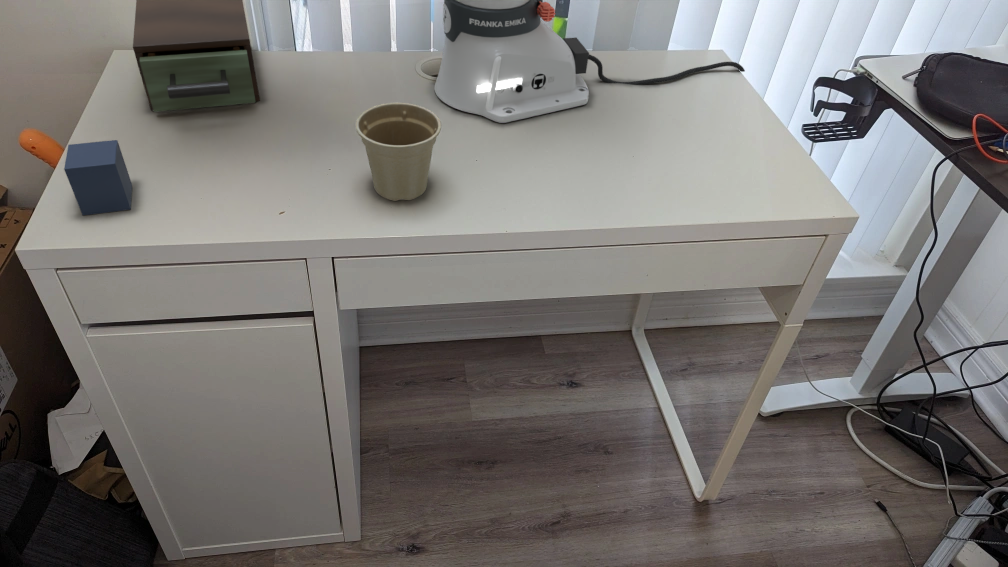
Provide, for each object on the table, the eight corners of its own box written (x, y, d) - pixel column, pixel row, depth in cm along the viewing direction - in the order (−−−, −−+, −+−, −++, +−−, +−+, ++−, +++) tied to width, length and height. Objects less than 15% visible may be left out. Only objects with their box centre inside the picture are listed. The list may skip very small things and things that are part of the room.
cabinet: (260, 100, 99) (249, 38, 93) (150, 110, 95) (132, 46, 89) (251, 50, 110) (241, -8, 104) (152, 57, 106) (136, -3, 100)
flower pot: (427, 217, 82) (427, 152, 76) (348, 202, 83) (342, 137, 77) (448, 173, 89) (450, 110, 83) (375, 159, 90) (372, 96, 84)
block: (132, 185, 83) (117, 139, 79) (130, 209, 79) (115, 163, 75) (85, 190, 81) (68, 144, 77) (82, 215, 78) (63, 169, 74)
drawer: (259, 121, 93) (250, 71, 88) (153, 131, 89) (138, 80, 85) (247, 54, 106) (239, 8, 102) (155, 61, 103) (142, 13, 98)
